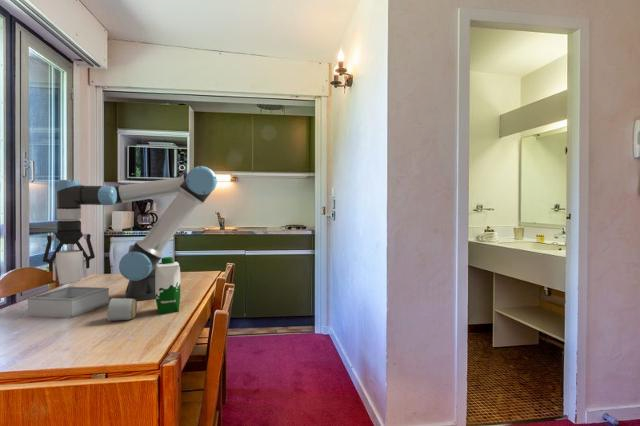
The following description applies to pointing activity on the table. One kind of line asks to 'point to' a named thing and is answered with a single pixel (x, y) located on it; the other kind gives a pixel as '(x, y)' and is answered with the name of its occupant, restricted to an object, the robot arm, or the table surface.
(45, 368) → the table surface
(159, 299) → the milk carton
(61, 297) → the crate
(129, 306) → the grey cylinder
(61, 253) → the cup
